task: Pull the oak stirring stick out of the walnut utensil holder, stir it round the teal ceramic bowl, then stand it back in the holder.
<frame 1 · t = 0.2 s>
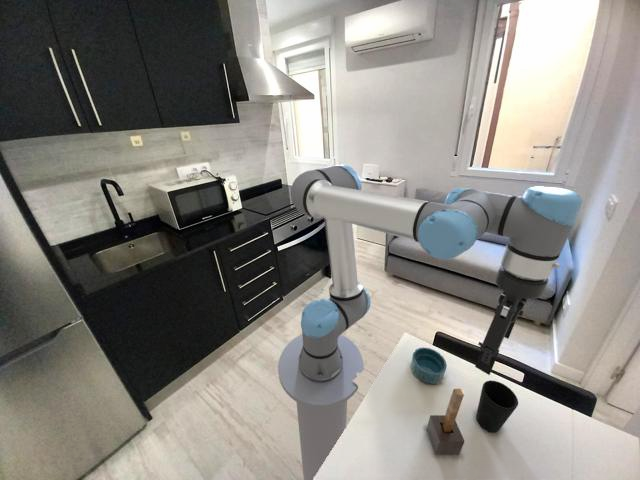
hand: (493, 351, 58), 29 cm above the table, tool pointing down, fingers open, 13 cm apart
holder: (442, 441, 67), on the table
cup: (487, 422, 71), on the table
stick: (449, 418, 62), in the holder
bowl: (426, 370, 85), on the table
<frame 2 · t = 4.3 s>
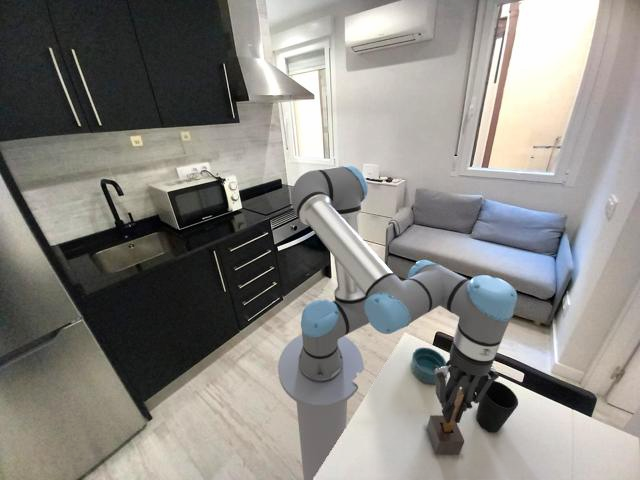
hand: (450, 417, 62), 10 cm above the table, tool pointing down, fingers closed on stick, 2 cm apart
stick: (449, 418, 62), in the holder, touching gripper
everything else where it was.
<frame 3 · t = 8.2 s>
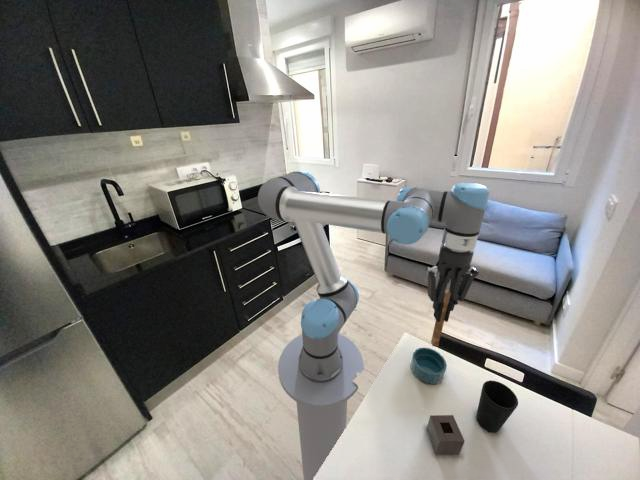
hand: (440, 318, 75), 23 cm above the table, tool pointing down, fingers closed on stick, 2 cm apart
stick: (440, 319, 75), point 23 cm above the table, touching gripper
everything else where it was.
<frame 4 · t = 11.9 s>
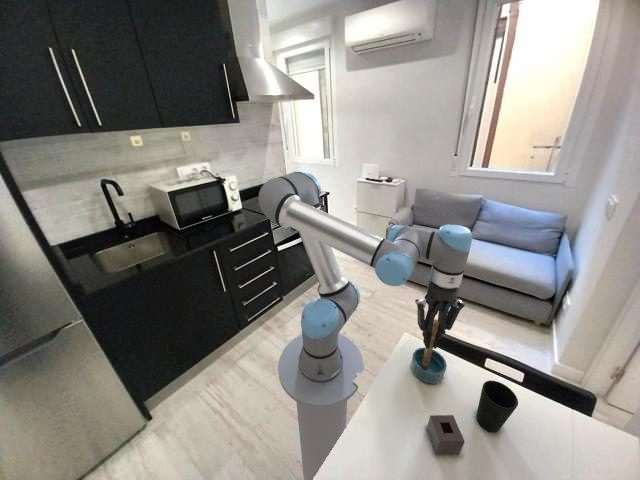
hand: (429, 344, 79), 13 cm above the table, tool pointing down, fingers closed on stick, 2 cm apart
stick: (429, 346, 79), point 12 cm above the table, touching gripper
everything else where it was.
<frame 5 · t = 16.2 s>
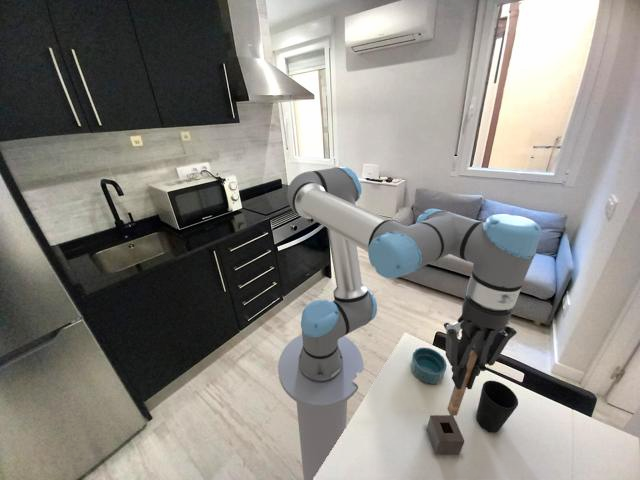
hand: (461, 383, 57), 23 cm above the table, tool pointing down, fingers closed on stick, 2 cm apart
stick: (460, 384, 57), point 22 cm above the table, touching gripper
everything else where it was.
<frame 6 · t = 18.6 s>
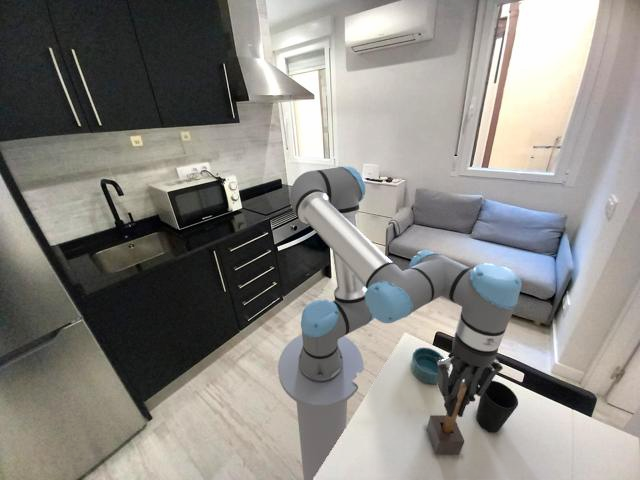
hand: (452, 410, 61), 13 cm above the table, tool pointing down, fingers closed on stick, 2 cm apart
stick: (452, 412, 61), point 13 cm above the table, touching gripper
everything else where it was.
when the fingers open (10 cm above the table, at t = 19.6 s): stick stays where it is, resting in holder.
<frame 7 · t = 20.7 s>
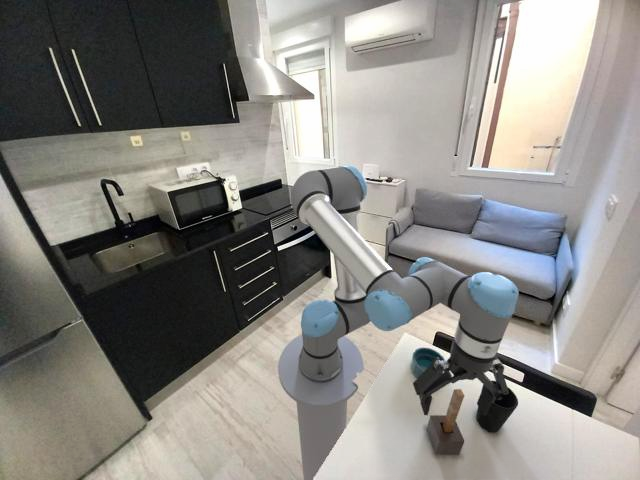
hand: (452, 409, 61), 13 cm above the table, tool pointing down, fingers open, 13 cm apart
stick: (450, 418, 62), in the holder
everything else where it was.
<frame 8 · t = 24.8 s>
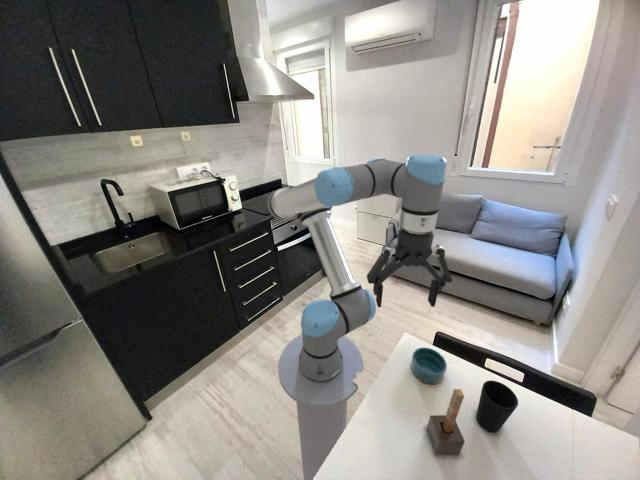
hand: (404, 303, 66), 33 cm above the table, tool pointing down, fingers open, 13 cm apart
nothing on the table moved.
at the end: stick 0.1 cm off-centre in the holder, point 10.0 cm above the holder's base; stick tilted 0°; bowl moved 0.0 cm from its start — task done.
